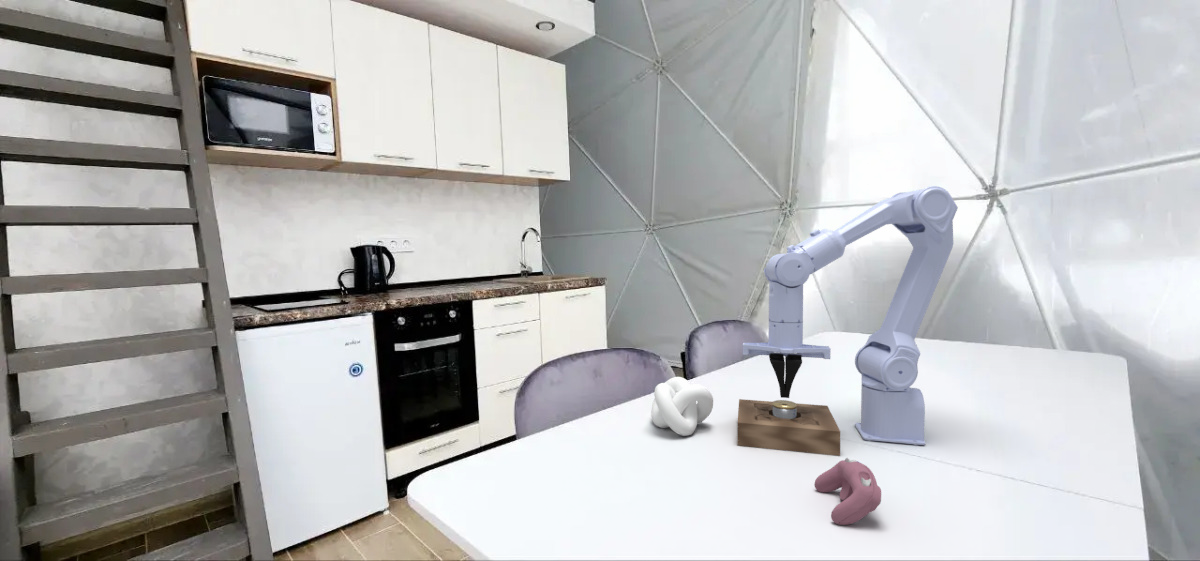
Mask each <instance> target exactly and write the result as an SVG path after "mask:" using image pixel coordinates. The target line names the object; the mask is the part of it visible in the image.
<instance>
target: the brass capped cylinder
mask: <svg viewBox="0 0 1200 561" xmlns="http://www.w3.org/2000/svg"><path fill="white" fill-rule="evenodd" d="M772 402H773V416H775V417H778V418H785V419H795V418H796V413H797V404H796V402H795V401H792V400H787V399H778V400H773V401H772Z"/></svg>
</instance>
